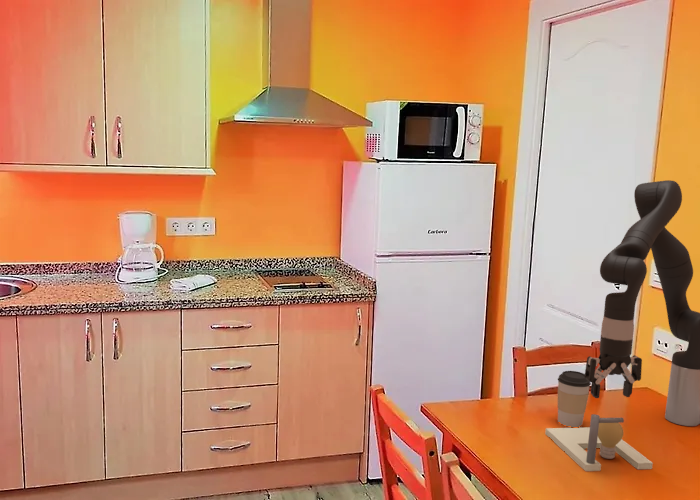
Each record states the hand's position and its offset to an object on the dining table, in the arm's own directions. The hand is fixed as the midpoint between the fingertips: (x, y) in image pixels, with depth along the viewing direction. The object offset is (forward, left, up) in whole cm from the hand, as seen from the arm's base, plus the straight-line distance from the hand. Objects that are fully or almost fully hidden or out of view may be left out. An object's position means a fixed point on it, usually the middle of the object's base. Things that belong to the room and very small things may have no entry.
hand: (610, 396), depth 173 cm
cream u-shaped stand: (0, -4, -16) cm, 17 cm away
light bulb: (-1, 0, -16) cm, 16 cm away
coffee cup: (-2, -22, -16) cm, 27 cm away
